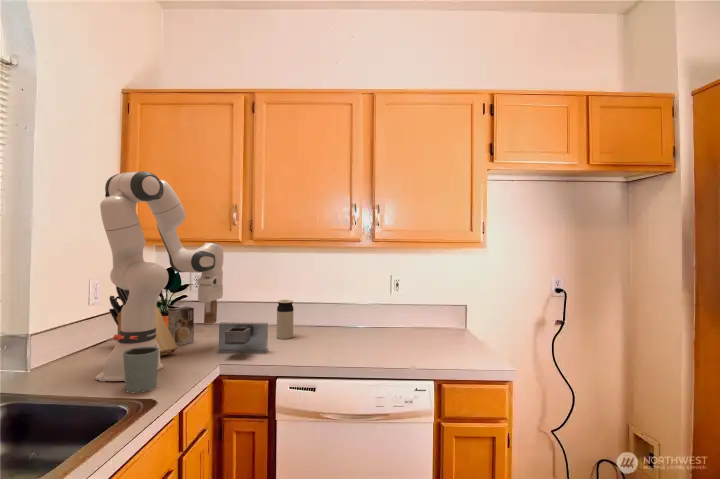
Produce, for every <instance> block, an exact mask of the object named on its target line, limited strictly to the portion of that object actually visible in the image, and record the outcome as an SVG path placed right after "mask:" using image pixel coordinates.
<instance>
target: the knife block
mask: <svg viewBox="0 0 720 479" xmlns="http://www.w3.org/2000/svg"><path fill="white" fill-rule="evenodd" d="M115 289H116V293H117V296H116V297H115V295H109V302H110V305H111V307H112V308H109V313H110V314H111V317H112V319H113V320H114V322H115V324H116V326H117V334H116V335H118V334H119V332H120V330H121V310H122V307H123V306H124V305H125V304H126V302H127V300H128V296H129V292H130V291H129V290H123V289H121V288H119V287H117V286H116V285H115ZM118 300H120V301H121V303H122V304H119V302H118ZM166 323H167V322H166V321H165V319H164V317H163V315H162V313H161V311H160V309H159V307H158V305H157V304H156V312H155V328H156V331H157V333H156V338H155V340H156V342H157V343H158V344H159V349H160V357H162V356H166V355H171V354H174V353H176V352H177V350H178V346H177V345H176V343H175V341H174V339H173V337H172V335H171V333H170V331H169V329H168V326H167V325H168V324H166ZM116 342H117V341H116ZM117 343H118V342H117ZM117 343H116V344H117Z"/></svg>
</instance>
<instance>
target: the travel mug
mask: <svg viewBox="0 0 720 479" xmlns="http://www.w3.org/2000/svg"><path fill="white" fill-rule="evenodd" d="M293 302H294V301H293V300H292V299H279V300H277V303H278V305H277V306H276V338H277V339H280V340H287V339H288V340H290V339H292V338H293V337H294V306H293Z"/></svg>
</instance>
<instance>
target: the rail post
mask: <svg viewBox="0 0 720 479" xmlns="http://www.w3.org/2000/svg"><path fill="white" fill-rule="evenodd" d="M210 307H211V311H210V312H206V307H205V306H204V312H203V315H204V317H203V324H215V323H217V317H218V315H217V314H218V301H217V302H212V301H211V304H210Z"/></svg>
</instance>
